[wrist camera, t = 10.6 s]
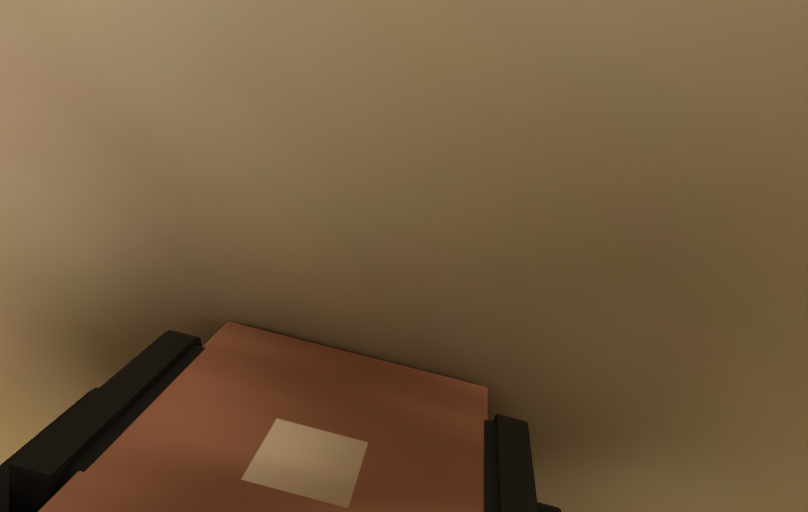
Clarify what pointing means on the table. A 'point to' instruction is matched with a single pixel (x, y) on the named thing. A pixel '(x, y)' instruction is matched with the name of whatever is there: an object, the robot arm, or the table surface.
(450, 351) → the table surface
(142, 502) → the wooden mallet
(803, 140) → the table surface
